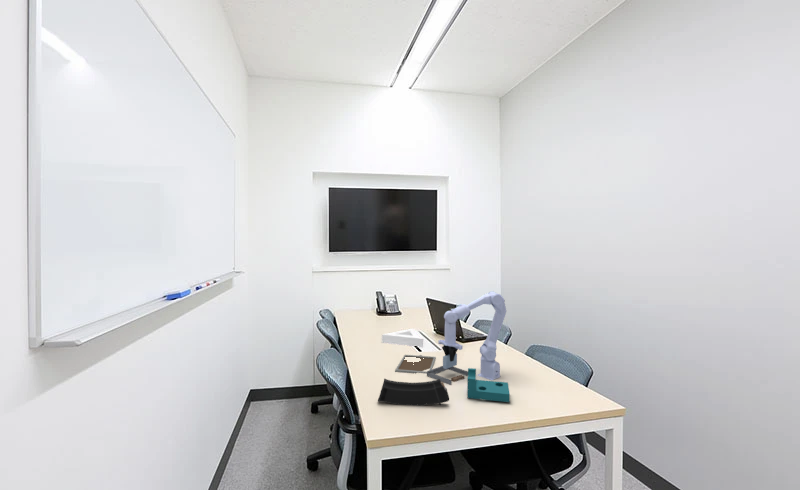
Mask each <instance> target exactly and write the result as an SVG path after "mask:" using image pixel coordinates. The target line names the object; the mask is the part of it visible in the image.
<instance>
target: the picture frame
mask: <svg viewBox="0 0 800 490" xmlns="http://www.w3.org/2000/svg"><path fill="white" fill-rule="evenodd" d="M405 357H416V358H420V359H421V361H419V362H414V363H413V362H407V360H404V359H405ZM423 358H424V359H423ZM436 358H437V357H436V356H429V355H428V356H427V355H421V354H420V355H413V354H404V355H403V357H402V358H401V360H400V361H399V363H398V364H397V366H396V368H395V370H394V372H395V373H403V374H404V373H406V374H414V373H415V374H426V375H427V371H428V370H432V369H434V365H435V362H436V360H437V359H436ZM413 364H414V365H413Z"/></svg>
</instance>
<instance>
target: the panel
mask: <svg viewBox="0 0 800 490" xmlns="http://www.w3.org/2000/svg"><path fill="white" fill-rule="evenodd" d="M457 364H458V353H456V354H455V357H454V361H452V362H451V361H450V354H449V355H446V356H445V355H443V356H442V366H443V368H444V369H447V368H450V367H456V366H457Z"/></svg>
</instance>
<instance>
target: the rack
mask: <svg viewBox="0 0 800 490" xmlns="http://www.w3.org/2000/svg"><path fill="white" fill-rule="evenodd" d="M447 370H449V371H451V372H455V373H457V374H460V375H463V376H466V377H468V370H465V369H462V368H458V367H456V366H453V367H450V368H447V369H444V368H443V365H441V366H438V367H434V368H432V370H430V369H428V370H426V372H427V374H426V377H429V378H431V379H433V380H438V379H440V380H441V382H443V383H444V384H446V385H449V386H452V383H453V381H452V380H451V379H449V378H446V377H443V376H440V375H438V374H439V373H443V372H445V371H447Z"/></svg>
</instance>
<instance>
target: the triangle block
mask: <svg viewBox="0 0 800 490" xmlns="http://www.w3.org/2000/svg"><path fill="white" fill-rule="evenodd" d="M381 343H382V344H387V343H388V344H389V345H396V344H397V345H398V346H405V345H407V346H406V347H414V346H419V347H418V348H424V338H423V337H422V336H421V335H420V334H419V333H418V331H417V330H416V329H415V328H414V327H413V328H408V329H403V330H398V331H393V332H388V333H382V334H381Z"/></svg>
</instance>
